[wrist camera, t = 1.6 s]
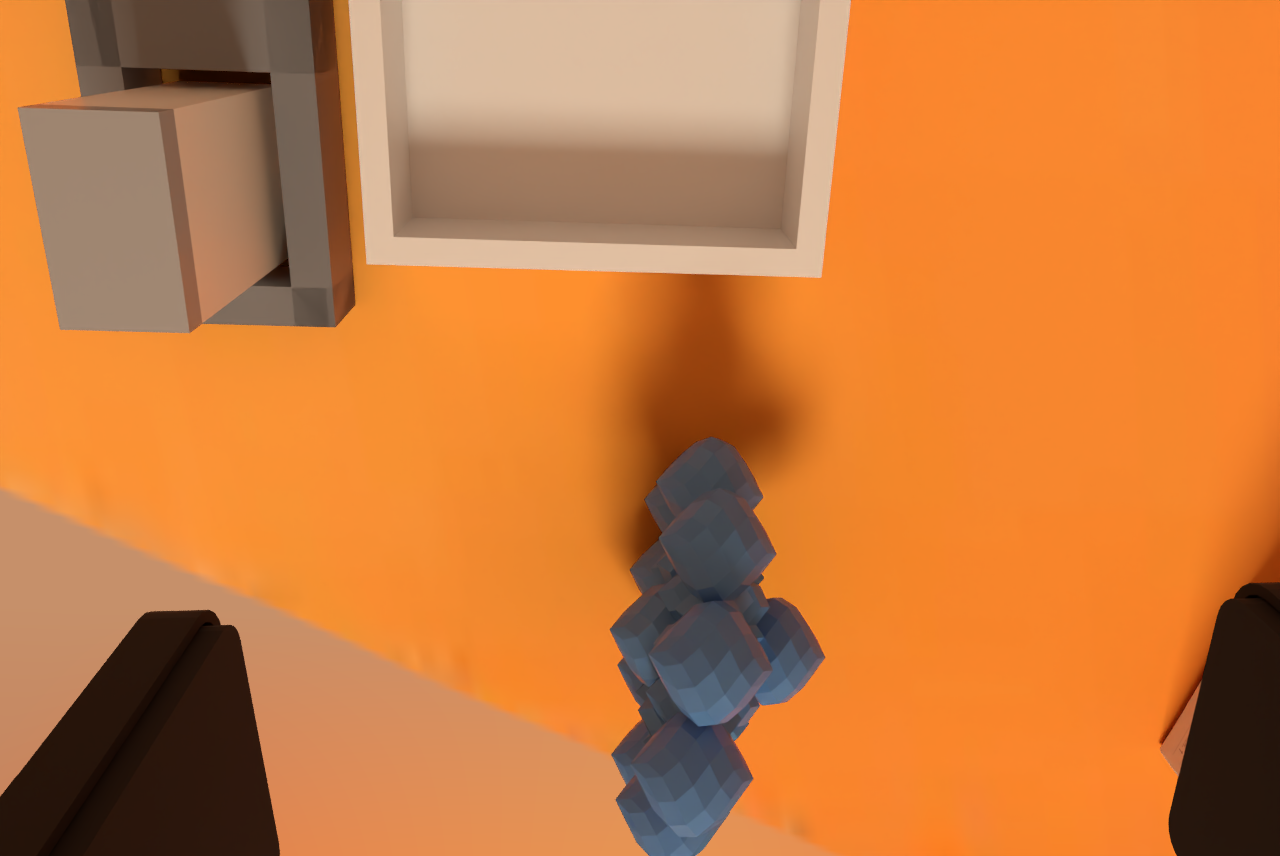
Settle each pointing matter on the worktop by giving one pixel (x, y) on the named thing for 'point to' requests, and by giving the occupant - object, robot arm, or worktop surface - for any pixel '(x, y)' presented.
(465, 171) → the tray
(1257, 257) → the worktop surface
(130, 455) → the worktop surface
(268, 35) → the frame
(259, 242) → the block
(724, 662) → the grapes
